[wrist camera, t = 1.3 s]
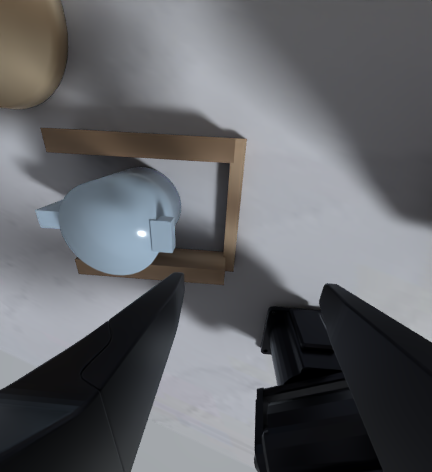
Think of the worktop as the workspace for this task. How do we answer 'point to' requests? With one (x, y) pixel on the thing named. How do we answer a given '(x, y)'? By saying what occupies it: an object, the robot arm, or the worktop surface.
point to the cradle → (175, 148)
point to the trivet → (31, 51)
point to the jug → (118, 220)
